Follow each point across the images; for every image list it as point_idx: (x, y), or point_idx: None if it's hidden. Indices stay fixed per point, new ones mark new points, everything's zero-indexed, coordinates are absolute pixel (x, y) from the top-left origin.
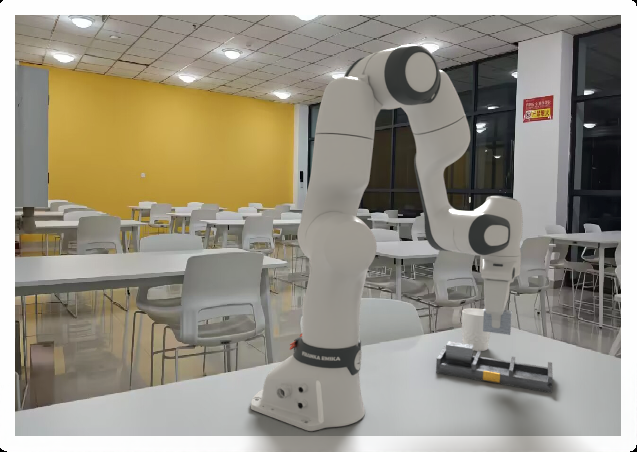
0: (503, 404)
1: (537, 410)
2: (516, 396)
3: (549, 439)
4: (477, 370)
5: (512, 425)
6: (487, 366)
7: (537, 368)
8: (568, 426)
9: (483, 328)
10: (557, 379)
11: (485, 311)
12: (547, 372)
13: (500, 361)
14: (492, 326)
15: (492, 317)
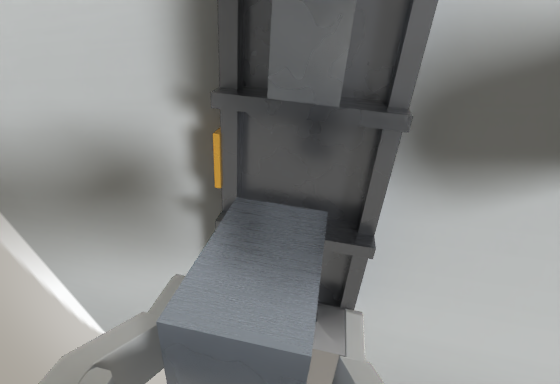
0: (96, 170)
1: (114, 237)
2: (165, 206)
3: (7, 234)
4: (220, 110)
5: (7, 179)
6: (345, 145)
7: (342, 294)
8: (81, 273)
9: (231, 210)
10: None
11: (165, 324)
12: None
13: (365, 199)
14: (175, 276)
15: (117, 331)
